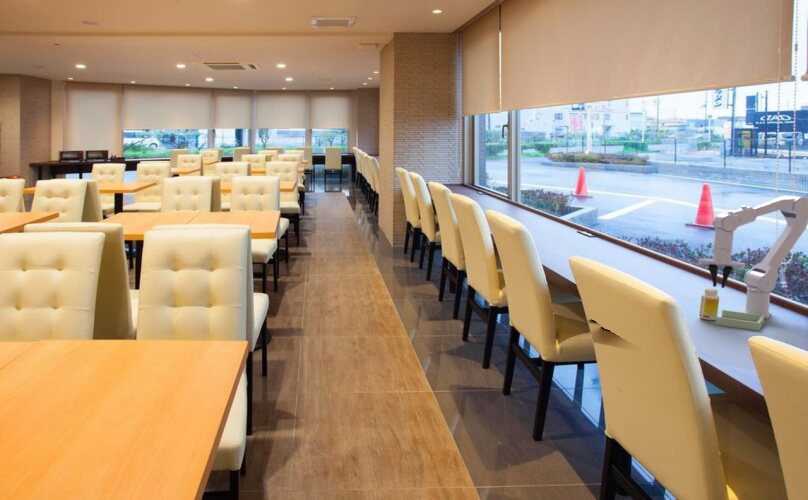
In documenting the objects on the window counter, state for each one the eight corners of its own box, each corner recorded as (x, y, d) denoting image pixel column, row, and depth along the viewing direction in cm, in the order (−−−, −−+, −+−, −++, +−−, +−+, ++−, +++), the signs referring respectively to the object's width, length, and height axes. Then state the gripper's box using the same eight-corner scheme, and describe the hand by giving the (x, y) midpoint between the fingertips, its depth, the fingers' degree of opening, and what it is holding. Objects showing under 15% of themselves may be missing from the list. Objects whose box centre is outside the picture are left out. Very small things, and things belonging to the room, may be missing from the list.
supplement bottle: (720, 320, 224) (724, 291, 223) (706, 320, 223) (710, 291, 221) (708, 316, 229) (712, 287, 228) (695, 316, 228) (698, 287, 226)
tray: (722, 316, 229) (722, 309, 229) (764, 322, 222) (764, 315, 221) (715, 324, 219) (715, 317, 218) (758, 330, 211) (759, 323, 211)
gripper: (697, 247, 228) (694, 285, 230) (744, 252, 220) (739, 291, 222) (702, 245, 233) (698, 282, 235) (747, 249, 225) (743, 288, 227)
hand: (718, 286), depth 229 cm, fingers closed
